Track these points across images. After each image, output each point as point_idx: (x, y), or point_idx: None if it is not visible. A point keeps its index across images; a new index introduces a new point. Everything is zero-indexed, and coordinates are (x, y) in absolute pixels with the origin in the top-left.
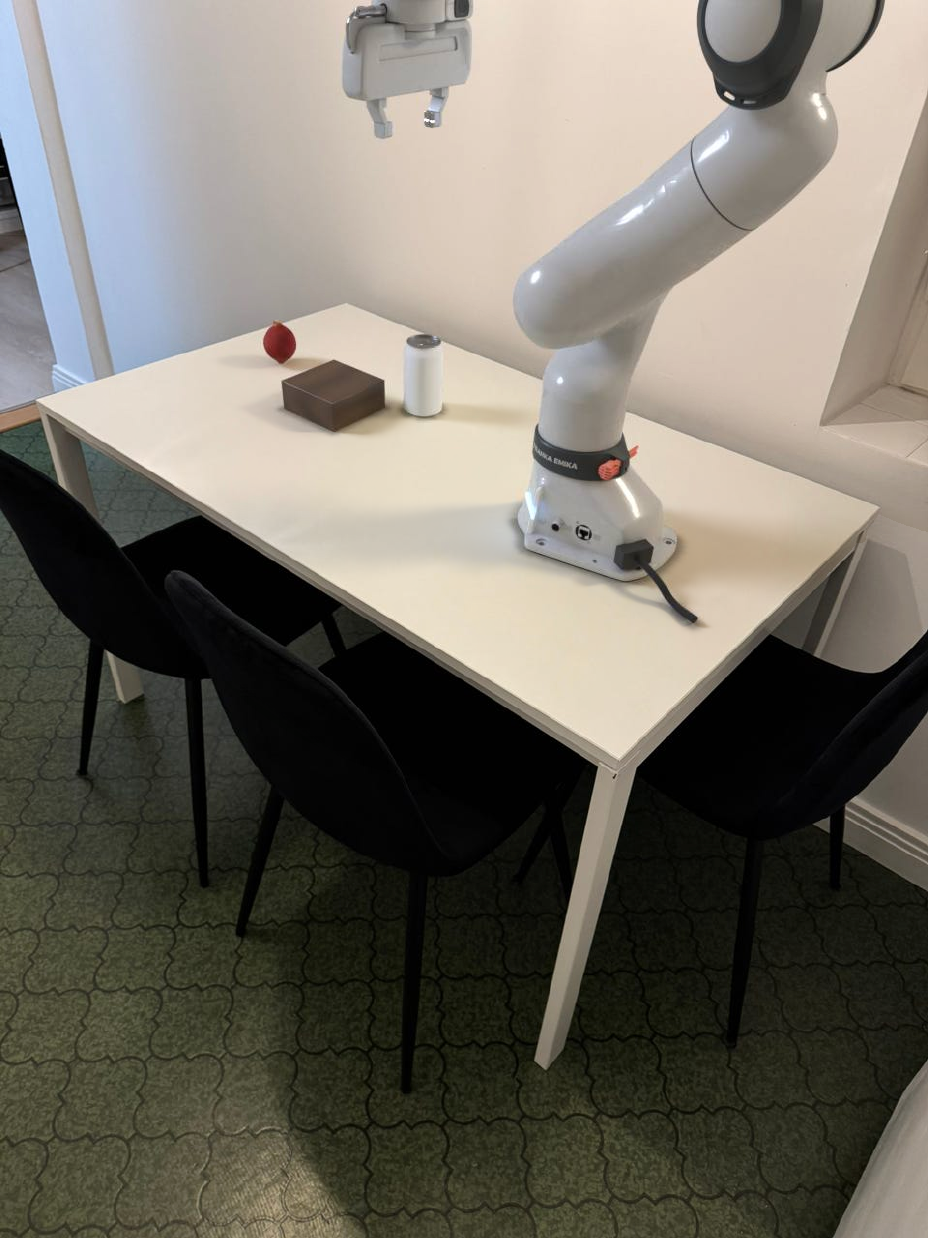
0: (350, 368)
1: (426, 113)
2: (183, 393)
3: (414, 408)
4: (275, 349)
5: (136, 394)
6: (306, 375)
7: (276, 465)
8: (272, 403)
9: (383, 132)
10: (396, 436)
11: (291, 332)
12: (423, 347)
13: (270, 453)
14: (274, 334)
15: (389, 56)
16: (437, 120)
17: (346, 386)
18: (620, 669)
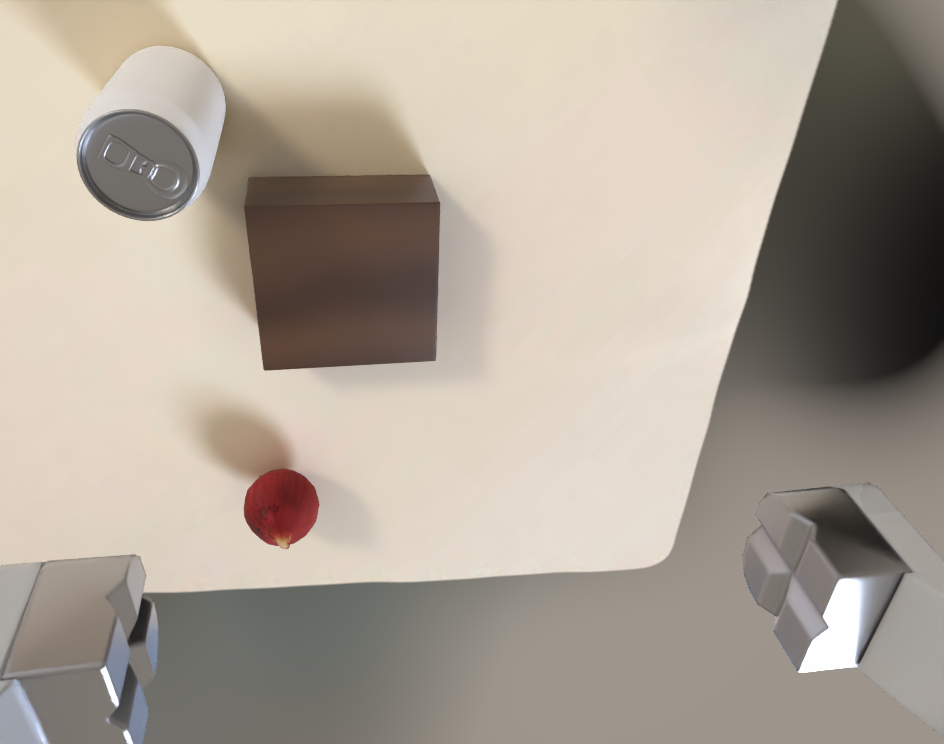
0: (267, 310)
1: (135, 725)
2: (511, 478)
3: (220, 92)
4: (311, 489)
5: (564, 515)
6: (376, 346)
7: (618, 154)
8: None
9: (896, 513)
10: (336, 45)
11: (258, 511)
12: (166, 140)
13: (587, 200)
14: (302, 518)
15: None
16: (64, 598)
17: (347, 245)
18: None
